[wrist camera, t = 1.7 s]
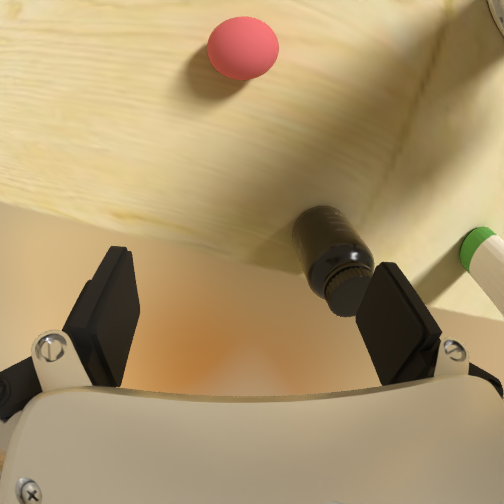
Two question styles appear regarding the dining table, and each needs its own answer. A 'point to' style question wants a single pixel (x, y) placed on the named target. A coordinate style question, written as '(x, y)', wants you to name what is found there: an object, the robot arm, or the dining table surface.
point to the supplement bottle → (333, 259)
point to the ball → (242, 48)
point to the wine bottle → (485, 263)
